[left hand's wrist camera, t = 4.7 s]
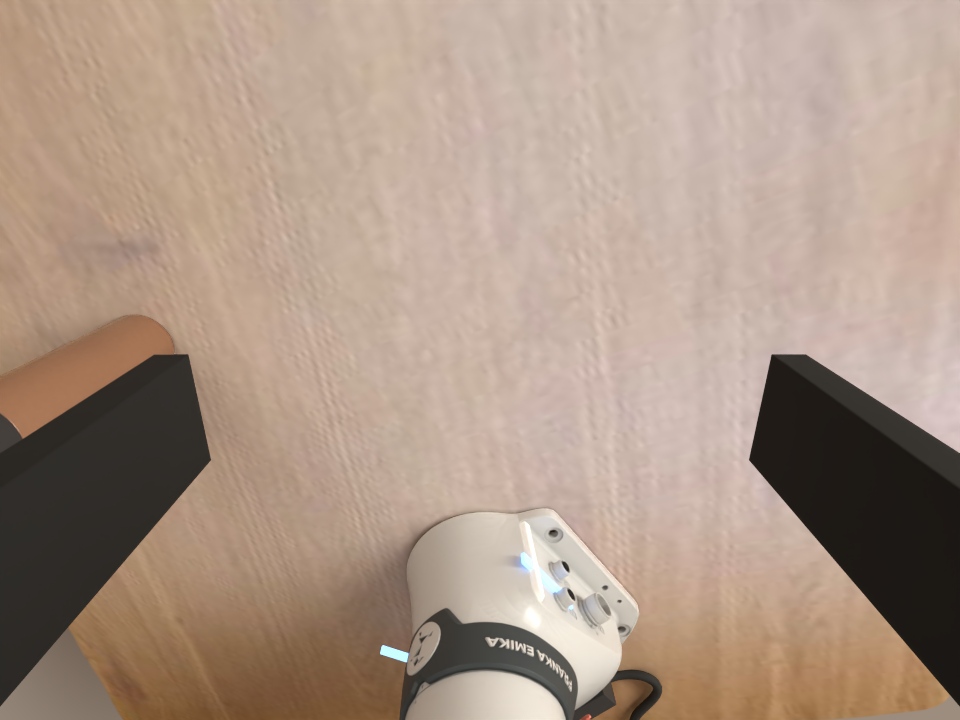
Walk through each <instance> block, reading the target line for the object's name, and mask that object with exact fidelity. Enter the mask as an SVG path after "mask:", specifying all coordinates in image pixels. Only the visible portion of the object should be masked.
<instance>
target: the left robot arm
mask: <svg viewBox="0 0 960 720" xmlns="http://www.w3.org/2000/svg"><path fill="white" fill-rule="evenodd" d="M210 460H211V458H210V454H209V449H208V444H207V440H206V435H205V430H204V426H203V421H202V416H201V412H200V407H199V402H198V398H197V393H196V388H195V384H194V379H193V374H192V370H191V365H190V360H189V356H188V355H153V356H151V357H150V358H148V359H146V360H145V361H143V362H142V363H140V364H139V365H137V366H136V367H134V368H132V369H131V370H129V371H128V372H126V373H125V374H123V375H122V376H120V377H118V378H117V379H115V380H114V381H112V382H111V383H109V384H108V385H106V386H104V387H103V388H101V389H100V390H98V391H97V392H95V393H94V394H92V395H90V396H89V397H87V398H86V399H84V400H83V401H81V402H79V403H78V404H76V405H75V406H73V407H72V408H70V409H69V410H67V411H65V412H64V413H62V414H61V415H59V416H58V417H56V418H55V419H53V420H51V421H50V422H48V423H47V424H45V425H44V426H42V427H41V428H39V429H37V430H36V431H34V432H33V433H31V434H30V435H28V436H27V437H25V438H23V439H22V440H20V441H19V442H17V443H16V444H14V445H13V446H11V447H9V448H8V449H6V450H5V451H3V452H2V453H0V706H1V705H2V704H3V702H4V701H5V700H6V699H7V698H8V697H9V695H10V694H11V693H12V692H13V691H14V690H15V688H16V687H17V686H18V685H19V684H20V683H21V681H22V680H23V679H24V678H25V677H26V676H27V674H28V673H29V672H30V671H31V670H32V669H33V667H34V666H35V665H36V664H37V663H38V662H39V660H40V659H41V658H42V657H43V656H44V654H45V653H46V652H47V651H48V650H49V649H50V648H51V646H52V645H53V644H54V643H55V642H56V640H57V639H58V638H59V637H60V636H61V635H62V633H63V632H64V631H65V630H66V629H67V628H68V626H69V625H70V624H71V623H72V622H73V621H74V619H75V618H76V617H77V616H78V615H79V614H80V612H81V611H82V610H83V609H84V608H85V607H86V605H87V604H88V603H89V602H90V601H91V600H92V598H93V597H94V596H95V595H96V594H97V593H98V591H99V590H100V589H101V588H102V587H103V586H104V584H105V583H106V582H107V581H108V580H109V579H110V577H111V576H112V575H113V574H114V573H115V572H116V570H117V569H118V568H119V567H120V566H121V565H122V563H123V562H124V561H125V560H126V559H127V557H128V556H129V555H130V554H131V553H132V552H133V550H134V549H135V548H136V547H137V546H138V545H139V543H140V542H141V541H142V540H143V539H144V538H145V536H146V535H147V534H148V533H149V532H150V531H151V529H152V528H153V527H154V526H155V525H156V524H157V522H158V521H159V520H160V519H161V518H162V517H163V515H164V514H165V513H166V512H167V511H168V510H169V508H170V507H171V506H172V505H173V504H174V503H175V501H176V500H177V499H178V498H179V497H180V496H181V494H182V493H183V492H184V491H185V490H186V489H187V487H188V486H189V485H190V484H191V483H192V482H193V480H194V479H195V478H196V477H197V476H198V474H199V473H200V472H201V471H202V470H203V469H204V467H205V466H206V465H207V464H208V463H209V462H210ZM749 460H750V462H751V463H752V464H753V465H754V466H755V467H756V469H757V470H758V471H759V472H760V473H761V474H762V476H763V477H764V478H765V479H766V480H767V482H768V483H769V484H770V485H771V486H772V487H773V489H774V490H775V491H776V492H777V493H778V494H779V496H780V497H781V498H782V499H783V500H784V501H785V503H786V504H787V505H788V506H789V507H790V508H791V510H792V511H793V512H794V513H795V514H796V515H797V517H798V518H799V519H800V520H801V521H802V522H803V524H804V525H805V526H806V527H807V528H808V529H809V531H810V532H811V533H812V534H813V535H814V536H815V538H816V539H817V540H818V541H819V542H820V543H821V545H822V546H823V547H824V548H825V549H826V550H827V552H828V553H829V554H830V555H831V556H832V557H833V559H834V560H835V561H836V562H837V563H838V565H839V566H840V567H841V568H842V569H843V570H844V572H845V573H846V574H847V575H848V576H849V577H850V579H851V580H852V581H853V582H854V583H855V584H856V586H857V587H858V588H859V589H860V590H861V591H862V593H863V594H864V595H865V596H866V597H867V598H868V600H869V601H870V602H871V603H872V604H873V605H874V607H875V608H876V609H877V610H878V611H879V612H880V614H881V615H882V616H883V617H884V618H885V619H886V621H887V622H888V623H889V624H890V625H891V626H892V628H893V629H894V630H895V631H896V632H897V633H898V635H899V636H900V637H901V638H902V639H903V641H904V642H905V643H906V644H907V645H908V646H909V648H910V649H911V650H912V651H913V652H914V653H915V655H916V656H917V657H918V658H919V659H920V660H921V662H922V663H923V664H924V665H925V666H926V667H927V669H928V670H929V671H930V672H931V673H932V674H933V676H934V677H935V678H936V679H937V680H938V681H939V683H940V684H941V685H942V686H943V687H944V688H945V690H946V691H947V692H948V693H949V694H950V695H951V697H952V698H953V699H954V700H955V701H956V702H957V704H958V705H959V706H960V453H958V452H957V451H955V450H954V449H952V448H951V447H949V446H947V445H946V444H944V443H943V442H941V441H940V440H938V439H937V438H935V437H933V436H932V435H930V434H929V433H927V432H926V431H924V430H923V429H921V428H919V427H918V426H916V425H915V424H913V423H912V422H910V421H909V420H907V419H905V418H904V417H902V416H901V415H899V414H898V413H896V412H895V411H893V410H891V409H890V408H888V407H887V406H885V405H884V404H882V403H881V402H879V401H877V400H876V399H874V398H873V397H871V396H870V395H868V394H866V393H865V392H863V391H862V390H860V389H859V388H857V387H856V386H854V385H852V384H851V383H849V382H848V381H846V380H845V379H843V378H842V377H840V376H838V375H837V374H835V373H834V372H832V371H831V370H829V369H828V368H826V367H824V366H823V365H821V364H820V363H818V362H817V361H815V360H814V359H812V358H810V357H809V356H807V355H772V356H771V360H770V365H769V370H768V374H767V379H766V384H765V388H764V393H763V398H762V402H761V407H760V412H759V416H758V421H757V426H756V430H755V435H754V440H753V444H752V449H751V453H750V458H749Z"/></svg>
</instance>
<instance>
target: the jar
mask: <svg viewBox="0 0 960 720" xmlns="http://www.w3.org/2000/svg"><path fill="white" fill-rule="evenodd" d="M153 355H174V346H173V342H172V339H171V337H170V335H169V334H168V332H167V331H166V330H165V329H164V328H163V327H162V326H161V325H160V324H159V323H157V322H156V321H154V320H152V319H150V318H148V317H145V316H141V315H127V316H124V317H121V318H119V319H117V320H115V321H113V322H111V323H109V324H107V325H105V326H103V327H101V328H98V329H96V330H94V331H92V332H90V333H88V334H86V335H84V336H82V337H80V338H78V339H76V340H73V341H71V342H69V343H67V344H65V345H63V346H61V347H59V348H57V349H55V350H53V351H51V352H48V353H46V354H44V355H42V356H40V357H38V358H36V359H34V360H32V361H30V362H28V363H26V364H23V365H21V366H19V367H17V368H15V369H13V370H11V371H9V372H7V373H5V374H3V375H1V376H0V414H1V415H3V416H4V417H5V418H6V419H8V420H9V421H10V422H11V423H12V424H13V426H14V427H15V428H16V429H17V431H18V432H19V433H20V435H21V437H22V439H23V438H25V437H27V436H28V435H30V434H31V433H33V432H34V431H36V430H37V429H39V428H41V427H42V426H44V425H45V424H47V423H48V422H50V421H51V420H53V419H55V418H56V417H58V416H59V415H61V414H62V413H64V412H65V411H67V410H69V409H70V408H72V407H73V406H75V405H76V404H78V403H79V402H81V401H83V400H84V399H86V398H87V397H89V396H90V395H92V394H94V393H95V392H97V391H98V390H100V389H101V388H103V387H104V386H106V385H108V384H109V383H111V382H112V381H114V380H115V379H117V378H118V377H120V376H122V375H123V374H125V373H126V372H128V371H129V370H131V369H132V368H134V367H136V366H137V365H139V364H140V363H142V362H143V361H145V360H146V359H148V358H150V357H151V356H153Z"/></svg>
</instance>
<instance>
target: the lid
mask: <svg viewBox="0 0 960 720" xmlns="http://www.w3.org/2000/svg"><path fill="white" fill-rule="evenodd" d="M20 440H22V437H21V435H20V433H19V432H18V431H17V429H16V428H15V427H14V426H13V424H12V423H11V422H10V421H9V420H8V419H6V418H5V417H4V416H3V415H1V414H0V453H2V452H3V451H5V450H6V449H8V448H9V447H11V446H13V445H14V444H16V443H17V442H19V441H20Z"/></svg>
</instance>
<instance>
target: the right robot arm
mask: <svg viewBox="0 0 960 720" xmlns="http://www.w3.org/2000/svg"><path fill="white" fill-rule="evenodd" d="M550 530H556V531H555V532H549V531H550ZM406 577H407V584H408V588H409V593H410V600H411V610H412V642H411V646H410V650H409V654H408V653H405V652H402V651H399V650H396V649H393V648H390V647H387V646H384V645H383V646H382V648H381V653H380V654H382V655H385V656H388V657H391V658H395V659H398V660H401V661H404V662H407V663H406V668H405V675H404V682H403V690H402V699H401V709H400V720H591V719H592V718H594V717H596V716H598V715H599V714H601V713H603V712H604V711H606V710H608V709H610V708H611V707H613V706H615V705H616V701H615V697H614V693H613V689H612V685H611V682H614V681H617V680H623V679H637V680H642V681H645V682H647V683H649V684H651V685H652V686H653V691H652V692H651V694H650V695H649V696H648V697H647V698H646V699H645V700H644V701H643V702H642V703H641V704H640V705H639V706H638V707H637V708H636V709H635V710H634V711H633V713H632V715H631V717H630V720H639V719H640V718H641V717H642V716H643V715H644V714H645V713H646V712H647V711H648V710H649V709H650V708H651V707H652V706H653V705H654V704H655V703H656V702H657V701H658V699H659V698H660V696H661V693H662V686H661V684H660V682H659V680H658V679H657V678H656V677H654V676H653V675H651V674H649V673H646V672H643V671H638V670H624V671H617V670H618V668H619V665H620V662H621V657H622V647H621V644H622V643H623V642H624V641H625V640H626V638H627V637H628V636H629V634H630V633H631V632H632V630H633V628H634V626H635V624H636V622H637V619H638V616H639V610H638V605H637V603H636V601H635V600H634V599H633V598H632V596H631V595H630V594H629V593H628V592H627V591H626V590H625V589H624V587H623V586H622V585H621V584H620V583H619V582H618V581H617V580H616V579H615V577H614V576H613V575H612V574H611V573H610V572H609V571H608V570H607V569H606V567H605V566H604V565H603V564H602V563H601V562H600V561H599V560H598V559H597V557H596V556H595V555H594V554H593V553H592V552H591V551H590V550H589V549H588V547H587V546H586V545H585V544H584V543H583V542H582V541H581V540H580V539H579V537H578V536H577V535H576V534H575V533H574V532H573V531H572V530H571V528H570V527H569V526H568V525H567V524H566V523H565V522H564V521H563V520H562V518H561V517H560V516H559V515H558V514H557V513H556V512H555V511H553V510H551V509H548V508H540V509H534V510H529V511H525V512H521V513H517V514H507V513H497V512H475V513H468V514H463V515H459V516H456V517H453V518H450V519H448V520H445V521H443V522H441V523H439V524H438V525H436V526H434V527H433V528H431V529H430V530H429V531H428V532H426V533H425V534H424V535H423V536H422V537H421V538H420V539H419V541H418V542H417V543H416V545H415V546H414V548H413V550H412V551H411V554H410V556H409V559H408V563H407V569H406Z"/></svg>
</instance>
